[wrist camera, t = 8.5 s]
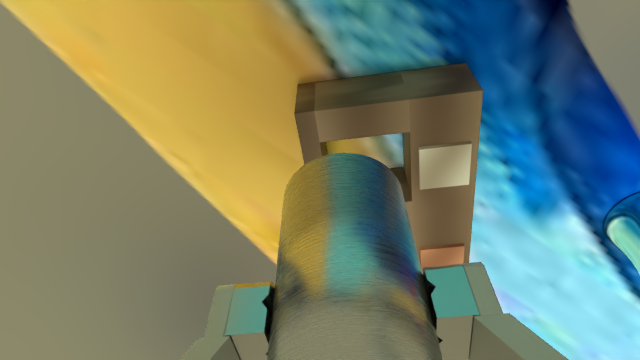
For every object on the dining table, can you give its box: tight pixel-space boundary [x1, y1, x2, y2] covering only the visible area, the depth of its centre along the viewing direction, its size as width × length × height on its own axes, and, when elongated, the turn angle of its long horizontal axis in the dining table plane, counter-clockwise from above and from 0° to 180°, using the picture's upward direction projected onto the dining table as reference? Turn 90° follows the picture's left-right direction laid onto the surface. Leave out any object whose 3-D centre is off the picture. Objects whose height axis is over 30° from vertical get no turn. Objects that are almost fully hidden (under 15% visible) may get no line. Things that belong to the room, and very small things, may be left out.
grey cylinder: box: [267, 153, 443, 360], centre depth 11 cm, size 4×4×9 cm
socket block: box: [295, 63, 483, 271], centre depth 33 cm, size 11×19×4 cm, turn 8°
